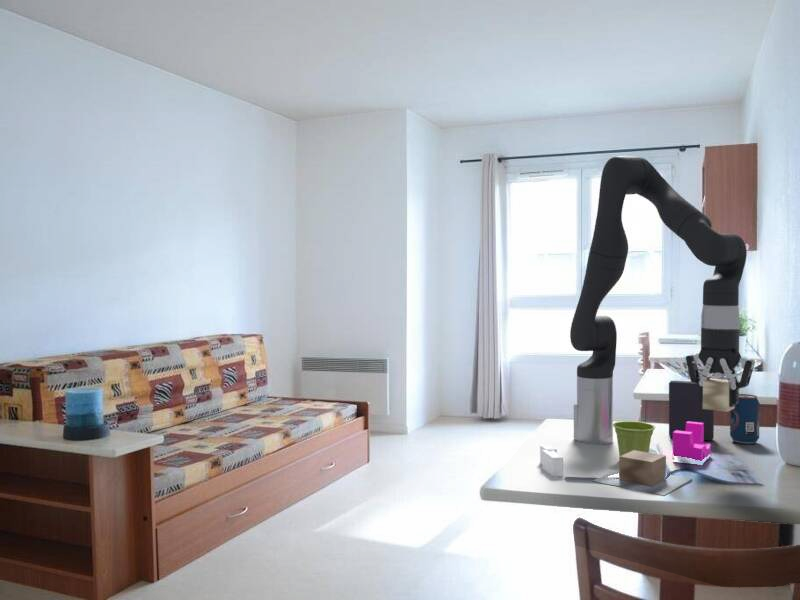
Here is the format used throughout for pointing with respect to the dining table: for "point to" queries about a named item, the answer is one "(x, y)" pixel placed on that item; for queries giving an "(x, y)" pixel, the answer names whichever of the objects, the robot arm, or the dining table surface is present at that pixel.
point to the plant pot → (633, 436)
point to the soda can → (745, 419)
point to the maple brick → (716, 395)
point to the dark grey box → (688, 408)
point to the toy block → (691, 442)
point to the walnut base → (653, 490)
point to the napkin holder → (551, 460)
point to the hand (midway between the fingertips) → (718, 404)
